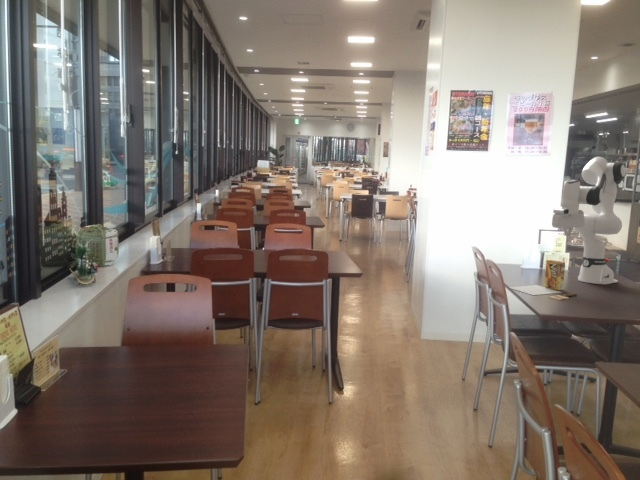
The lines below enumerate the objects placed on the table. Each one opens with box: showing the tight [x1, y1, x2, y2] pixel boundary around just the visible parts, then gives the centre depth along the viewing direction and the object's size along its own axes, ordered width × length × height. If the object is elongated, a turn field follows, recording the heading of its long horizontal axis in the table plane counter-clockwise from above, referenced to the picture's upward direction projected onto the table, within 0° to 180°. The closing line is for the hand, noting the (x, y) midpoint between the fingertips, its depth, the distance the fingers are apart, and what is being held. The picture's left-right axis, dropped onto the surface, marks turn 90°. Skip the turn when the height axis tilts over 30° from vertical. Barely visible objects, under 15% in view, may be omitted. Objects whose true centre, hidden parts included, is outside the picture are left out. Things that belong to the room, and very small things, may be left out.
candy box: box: [544, 259, 566, 291], centre depth 317 cm, size 9×4×15 cm, turn 43°
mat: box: [508, 284, 563, 296], centre depth 312 cm, size 20×18×1 cm
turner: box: [548, 291, 578, 301], centre depth 299 cm, size 18×6×1 cm, turn 124°
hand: (567, 235), depth 316 cm, fingers closed
